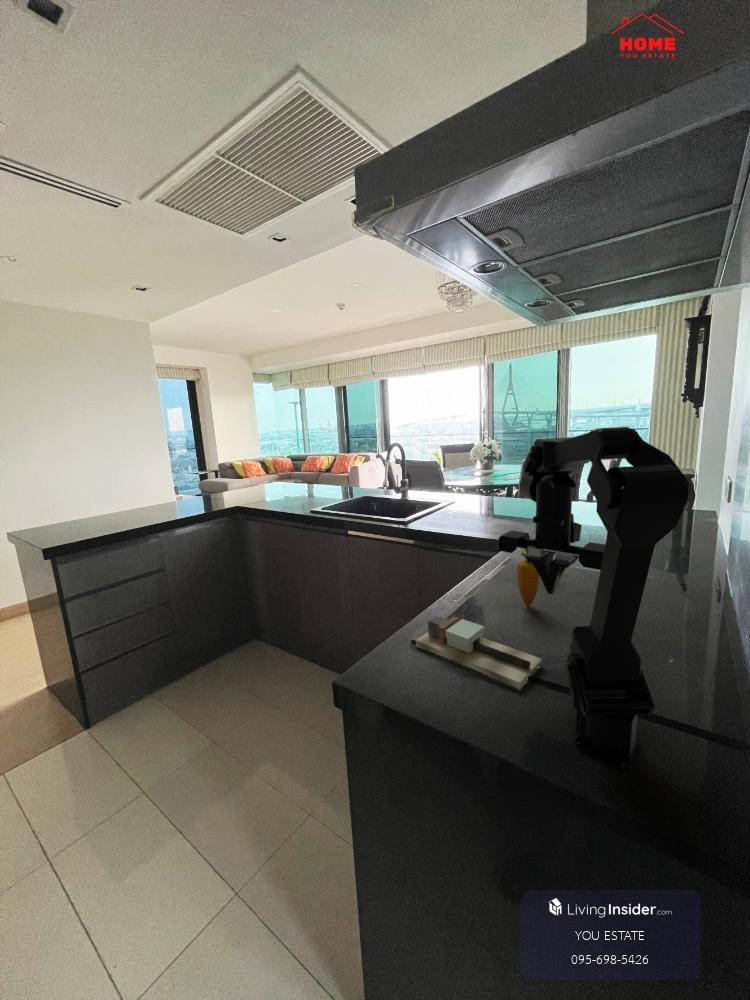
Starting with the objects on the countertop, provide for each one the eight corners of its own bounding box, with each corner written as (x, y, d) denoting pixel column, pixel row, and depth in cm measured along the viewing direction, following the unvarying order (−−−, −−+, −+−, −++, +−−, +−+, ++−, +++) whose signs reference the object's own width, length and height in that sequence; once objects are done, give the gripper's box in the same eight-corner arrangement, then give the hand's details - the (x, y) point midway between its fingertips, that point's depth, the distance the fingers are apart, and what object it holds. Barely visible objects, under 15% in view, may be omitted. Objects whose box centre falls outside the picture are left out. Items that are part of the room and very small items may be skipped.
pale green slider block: (484, 641, 81) (484, 626, 81) (468, 654, 77) (468, 639, 77) (462, 633, 85) (462, 619, 84) (445, 645, 81) (445, 630, 80)
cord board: (541, 666, 76) (542, 640, 75) (520, 690, 69) (520, 663, 68) (441, 629, 91) (440, 607, 90) (416, 646, 84) (415, 623, 83)
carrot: (540, 612, 96) (541, 550, 93) (517, 610, 97) (518, 549, 94) (537, 603, 101) (539, 543, 98) (516, 601, 102) (517, 543, 99)
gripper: (625, 507, 72) (620, 591, 75) (522, 497, 85) (521, 569, 88) (607, 520, 64) (602, 613, 67) (495, 507, 77) (495, 586, 80)
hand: (551, 593), depth 75 cm, fingers closed
